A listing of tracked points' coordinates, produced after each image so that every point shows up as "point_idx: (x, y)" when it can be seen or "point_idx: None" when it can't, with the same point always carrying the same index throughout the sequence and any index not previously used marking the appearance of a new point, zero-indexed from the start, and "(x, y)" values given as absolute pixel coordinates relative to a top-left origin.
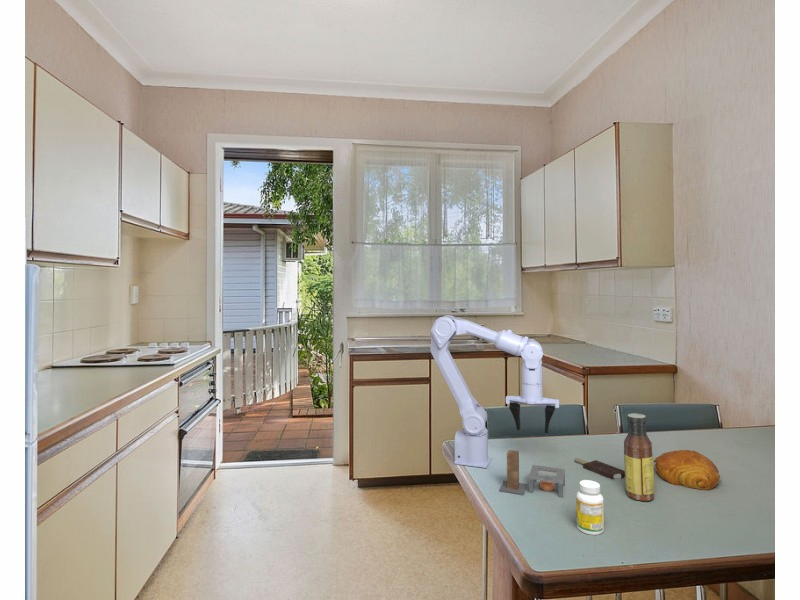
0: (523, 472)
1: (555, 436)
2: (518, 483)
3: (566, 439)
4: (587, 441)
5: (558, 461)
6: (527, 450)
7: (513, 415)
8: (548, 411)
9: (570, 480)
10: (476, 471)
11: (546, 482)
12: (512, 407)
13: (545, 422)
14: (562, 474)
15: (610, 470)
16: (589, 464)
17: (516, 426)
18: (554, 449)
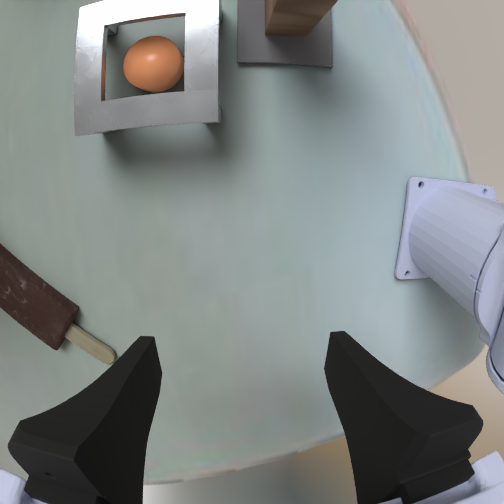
0: (267, 187)
1: (211, 473)
2: (266, 14)
3: (181, 465)
4: None
5: (159, 336)
6: (275, 388)
7: (413, 385)
8: (49, 436)
9: (89, 180)
10: (432, 143)
11: (152, 41)
12: (466, 423)
13: (125, 378)
14: (79, 69)
15: (3, 282)
16: (55, 311)
17: (356, 342)
18: (194, 414)
